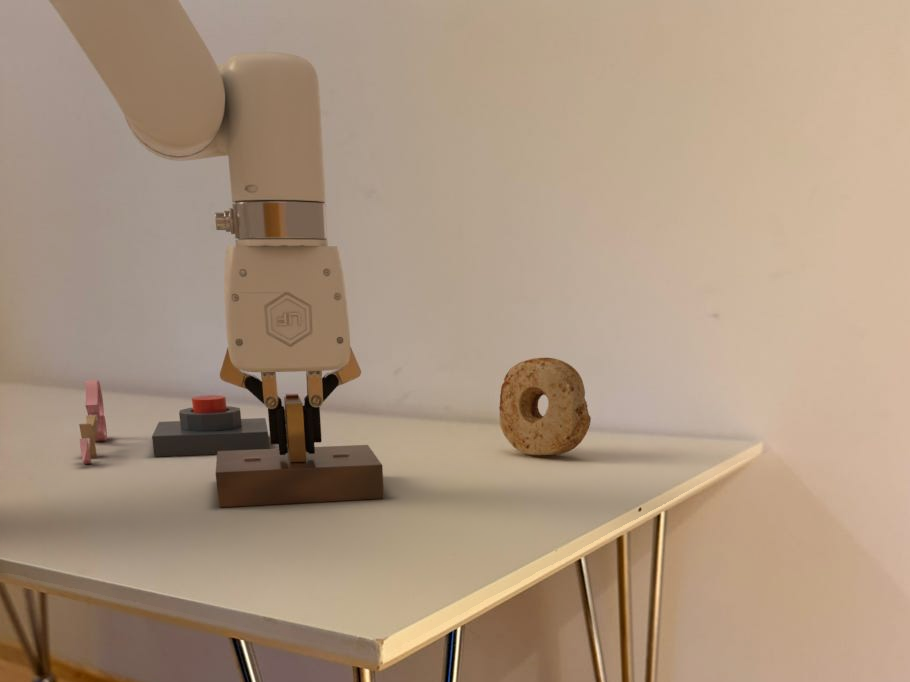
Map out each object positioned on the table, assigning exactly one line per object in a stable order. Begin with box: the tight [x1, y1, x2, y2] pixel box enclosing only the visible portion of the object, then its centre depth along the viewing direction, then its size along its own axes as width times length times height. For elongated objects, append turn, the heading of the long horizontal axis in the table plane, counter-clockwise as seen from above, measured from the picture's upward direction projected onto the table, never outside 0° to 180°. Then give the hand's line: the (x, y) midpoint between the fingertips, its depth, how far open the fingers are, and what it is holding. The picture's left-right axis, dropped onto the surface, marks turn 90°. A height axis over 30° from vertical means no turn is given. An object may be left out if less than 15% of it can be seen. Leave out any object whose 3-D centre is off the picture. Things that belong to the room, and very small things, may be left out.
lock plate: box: [215, 444, 385, 508], centre depth 88 cm, size 14×10×3 cm
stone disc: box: [498, 357, 592, 456], centre depth 103 cm, size 10×4×10 cm, turn 52°
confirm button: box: [191, 394, 227, 413], centre depth 108 cm, size 4×4×2 cm
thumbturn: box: [283, 393, 306, 462], centre depth 87 cm, size 5×1×5 cm, turn 13°
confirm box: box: [151, 405, 270, 458], centre depth 109 cm, size 12×10×4 cm
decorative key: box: [78, 379, 108, 465], centre depth 106 cm, size 7×1×20 cm
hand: (296, 450), depth 88 cm, fingers closed
